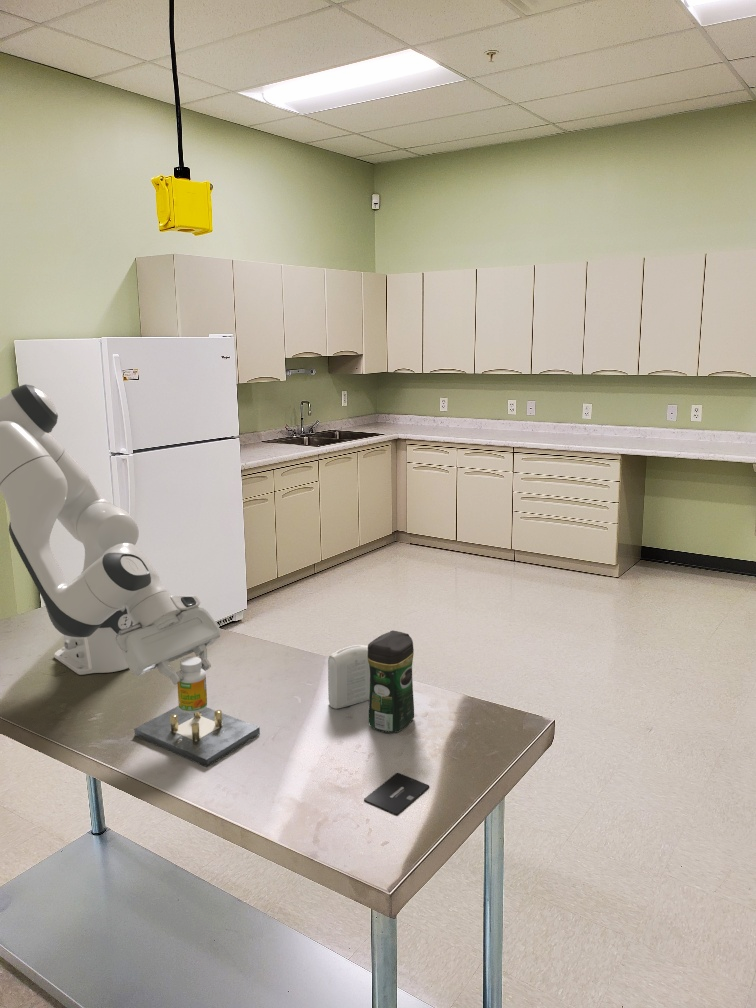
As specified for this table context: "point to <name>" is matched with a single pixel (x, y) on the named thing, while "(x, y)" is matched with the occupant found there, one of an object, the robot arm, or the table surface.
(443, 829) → the table surface
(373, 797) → the solid state drive
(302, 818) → the table surface
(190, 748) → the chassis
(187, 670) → the supplement bottle
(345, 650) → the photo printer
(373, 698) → the coffee jar
